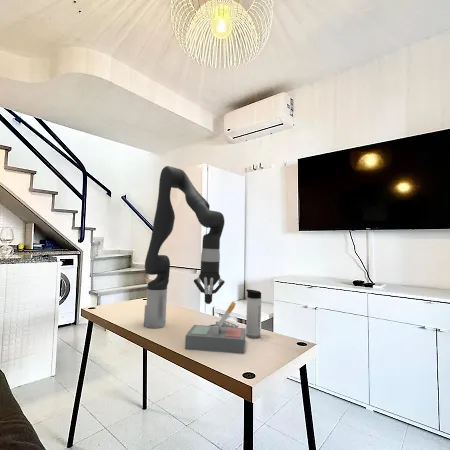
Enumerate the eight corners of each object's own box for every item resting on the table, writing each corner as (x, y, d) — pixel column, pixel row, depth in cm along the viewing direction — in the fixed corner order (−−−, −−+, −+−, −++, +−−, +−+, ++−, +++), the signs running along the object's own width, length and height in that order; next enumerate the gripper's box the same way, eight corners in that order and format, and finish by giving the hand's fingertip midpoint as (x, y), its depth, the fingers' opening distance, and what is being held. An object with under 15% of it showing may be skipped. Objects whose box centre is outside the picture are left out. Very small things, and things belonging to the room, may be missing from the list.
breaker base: (185, 348, 106) (186, 327, 106) (193, 336, 120) (194, 317, 120) (243, 353, 103) (244, 331, 104) (245, 340, 117) (245, 320, 118)
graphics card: (223, 319, 138) (239, 324, 128) (223, 327, 138) (239, 333, 128) (193, 324, 128) (208, 331, 118) (193, 333, 128) (207, 340, 118)
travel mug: (244, 333, 126) (245, 288, 127) (258, 333, 127) (259, 288, 128) (246, 338, 120) (247, 290, 121) (261, 338, 121) (262, 291, 122)
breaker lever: (215, 327, 109) (231, 304, 109) (217, 323, 115) (232, 301, 115) (218, 330, 109) (234, 306, 109) (220, 325, 115) (235, 303, 115)
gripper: (192, 259, 111) (189, 304, 110) (225, 261, 109) (223, 307, 108) (196, 258, 118) (194, 300, 117) (227, 260, 117) (225, 302, 116)
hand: (208, 303), depth 113 cm, fingers closed
